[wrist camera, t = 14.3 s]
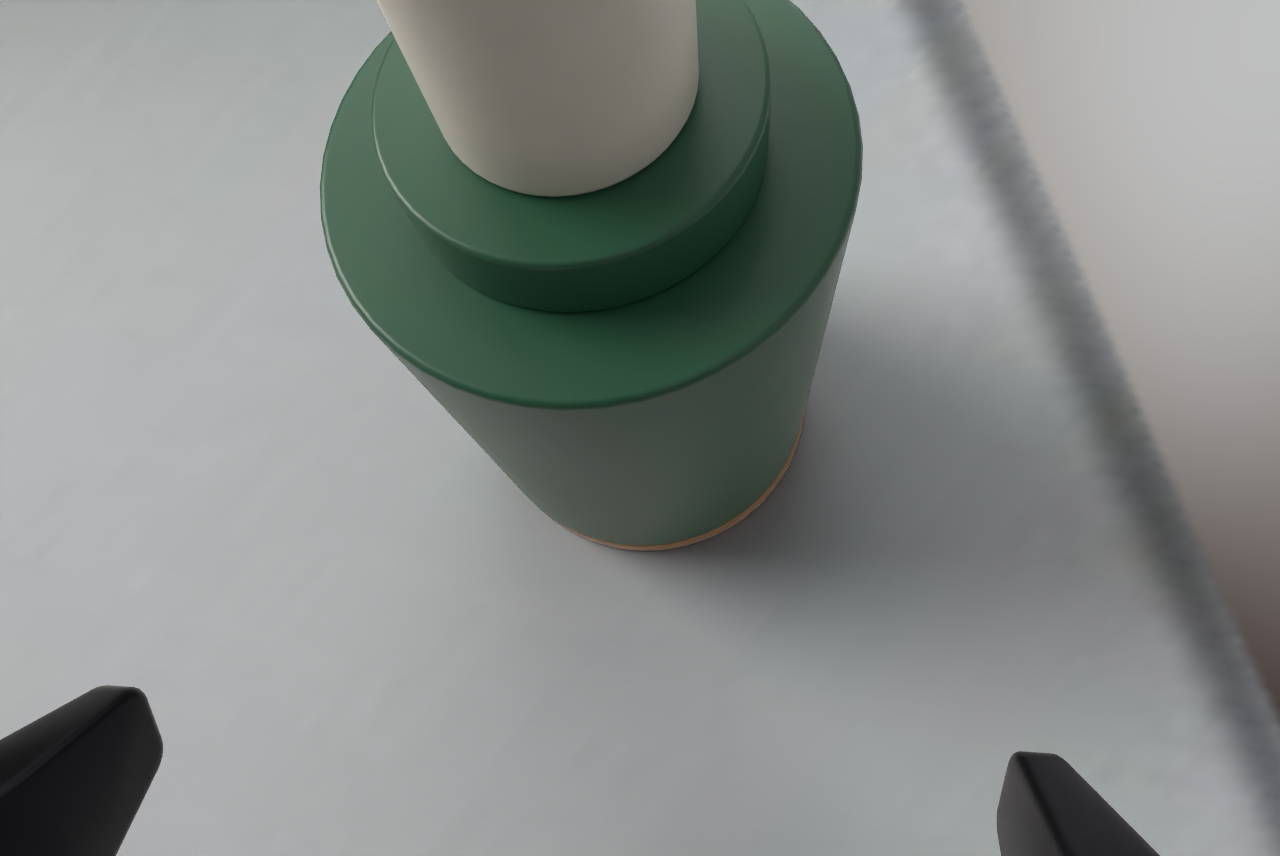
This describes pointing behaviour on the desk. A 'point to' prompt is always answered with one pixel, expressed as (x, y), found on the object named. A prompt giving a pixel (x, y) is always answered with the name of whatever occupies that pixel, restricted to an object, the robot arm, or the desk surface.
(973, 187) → the desk surface
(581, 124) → the bottle
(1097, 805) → the robot arm
